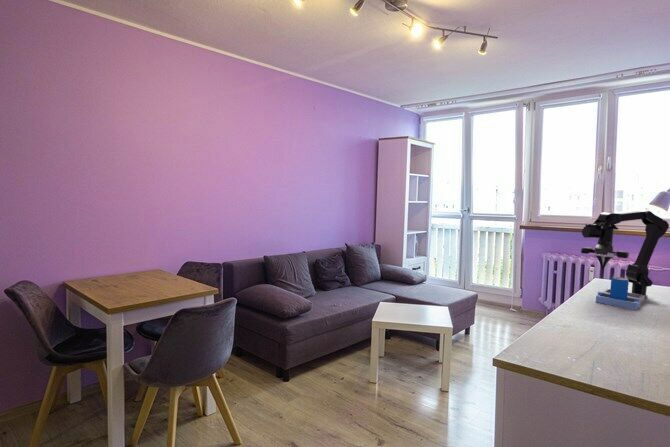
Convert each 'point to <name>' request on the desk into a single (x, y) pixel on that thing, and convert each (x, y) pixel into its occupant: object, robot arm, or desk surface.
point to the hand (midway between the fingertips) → (602, 269)
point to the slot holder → (631, 302)
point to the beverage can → (619, 288)
